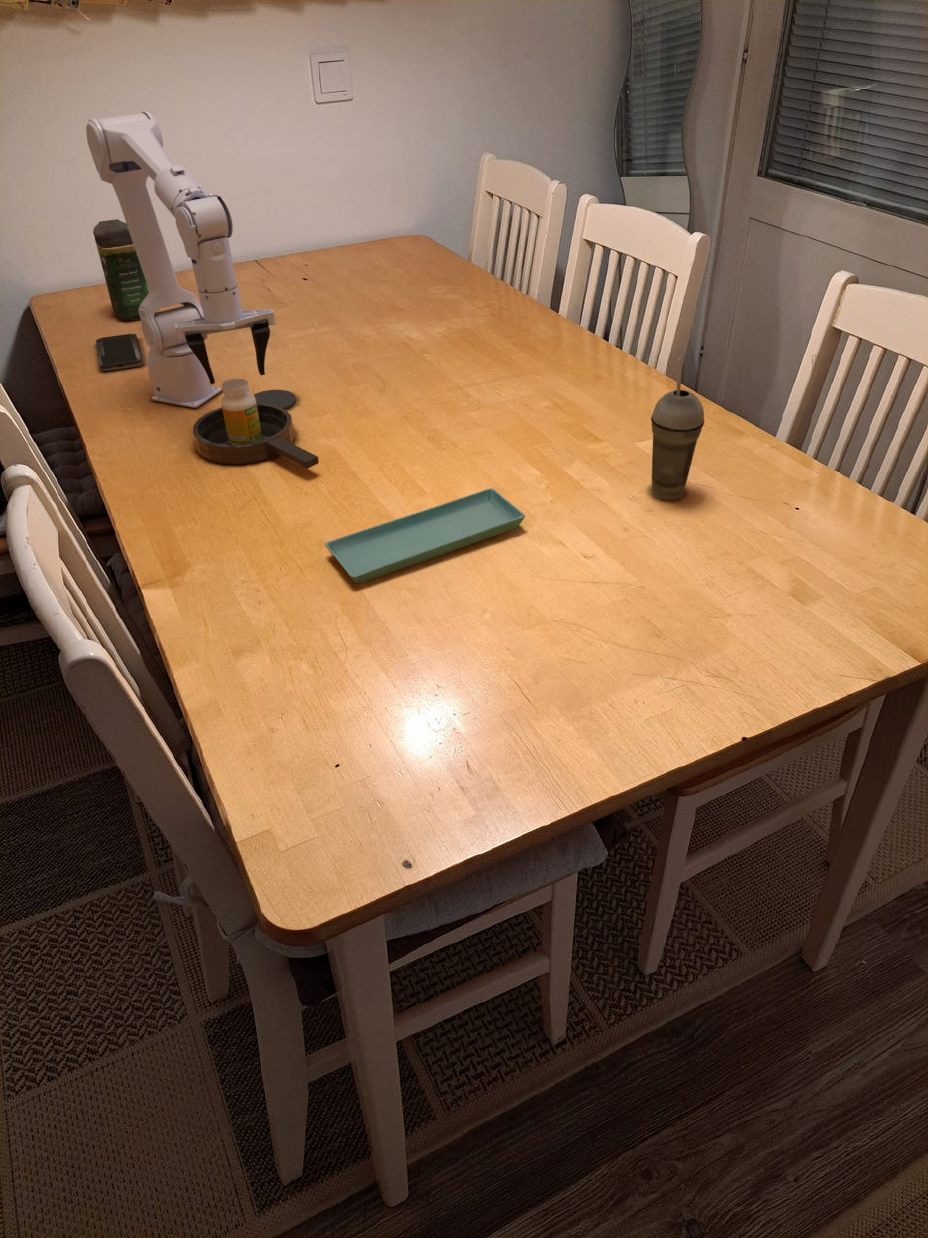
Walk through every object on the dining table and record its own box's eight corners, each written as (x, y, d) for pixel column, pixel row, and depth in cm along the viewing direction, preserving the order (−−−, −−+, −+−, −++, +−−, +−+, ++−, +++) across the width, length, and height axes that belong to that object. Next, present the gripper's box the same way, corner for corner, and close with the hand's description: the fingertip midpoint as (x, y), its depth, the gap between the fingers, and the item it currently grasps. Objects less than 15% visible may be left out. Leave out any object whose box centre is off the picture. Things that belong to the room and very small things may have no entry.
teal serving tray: (353, 590, 115) (351, 575, 113) (325, 555, 121) (322, 540, 119) (526, 531, 125) (527, 515, 123) (492, 501, 131) (492, 486, 129)
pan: (176, 454, 144) (172, 436, 142) (233, 414, 155) (230, 396, 153) (260, 472, 139) (256, 453, 137) (312, 429, 150) (309, 411, 148)
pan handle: (266, 448, 141) (264, 441, 140) (278, 442, 142) (277, 435, 142) (306, 469, 136) (305, 462, 135) (319, 463, 137) (318, 456, 136)
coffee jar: (158, 317, 192) (136, 225, 181) (120, 324, 189) (96, 231, 178) (147, 303, 199) (126, 213, 187) (110, 310, 196) (86, 219, 185)
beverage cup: (662, 510, 128) (681, 376, 116) (632, 487, 133) (646, 356, 121) (703, 497, 131) (725, 364, 118) (671, 475, 136) (690, 346, 123)
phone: (135, 332, 182) (142, 359, 171) (137, 338, 183) (143, 365, 172) (95, 338, 180) (99, 366, 169) (96, 344, 181) (100, 372, 170)
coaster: (238, 408, 157) (237, 405, 156) (264, 389, 163) (264, 386, 162) (279, 416, 154) (279, 413, 154) (305, 396, 160) (304, 393, 160)
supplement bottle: (255, 449, 144) (244, 392, 138) (223, 446, 145) (211, 389, 139) (267, 433, 148) (257, 377, 142) (236, 431, 149) (225, 375, 143)
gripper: (169, 302, 128) (192, 394, 136) (271, 286, 131) (287, 377, 139) (166, 289, 133) (188, 379, 141) (264, 275, 137) (280, 363, 145)
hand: (237, 377), depth 140 cm, fingers open, 7 cm apart
